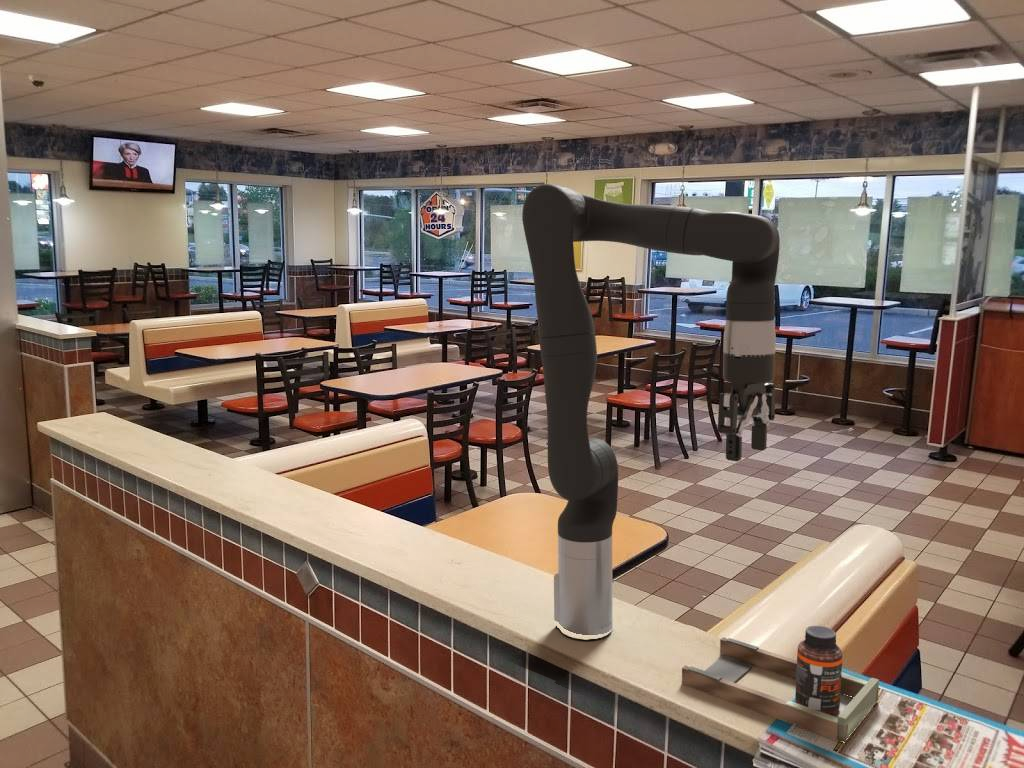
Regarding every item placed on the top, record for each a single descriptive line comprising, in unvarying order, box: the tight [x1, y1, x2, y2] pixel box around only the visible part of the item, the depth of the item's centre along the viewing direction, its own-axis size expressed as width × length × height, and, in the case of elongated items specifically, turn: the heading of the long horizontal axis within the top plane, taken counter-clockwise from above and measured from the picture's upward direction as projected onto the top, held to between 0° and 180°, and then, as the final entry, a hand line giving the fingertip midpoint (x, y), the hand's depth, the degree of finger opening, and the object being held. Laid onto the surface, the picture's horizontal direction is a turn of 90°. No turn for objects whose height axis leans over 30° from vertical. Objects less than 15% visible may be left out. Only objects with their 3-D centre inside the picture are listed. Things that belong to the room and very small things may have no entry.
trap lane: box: [681, 637, 880, 742], centre depth 118 cm, size 24×13×4 cm, turn 48°
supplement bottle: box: [794, 625, 843, 716], centre depth 114 cm, size 6×6×11 cm
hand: (746, 454), depth 125 cm, fingers open, 8 cm apart
